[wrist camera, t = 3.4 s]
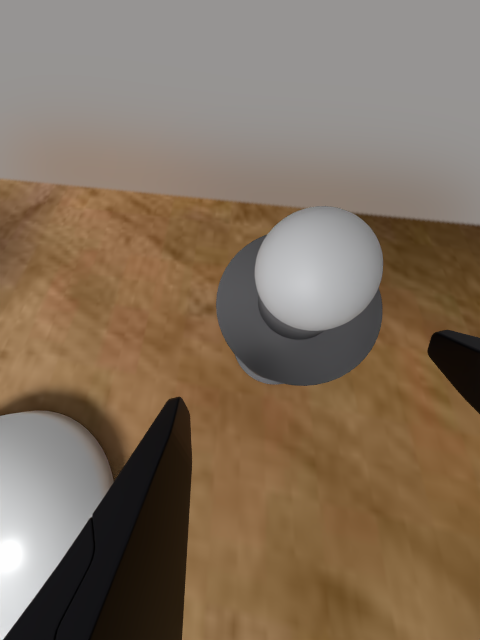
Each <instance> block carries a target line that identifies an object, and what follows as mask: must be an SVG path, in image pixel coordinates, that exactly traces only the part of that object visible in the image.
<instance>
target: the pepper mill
mask: <svg viewBox="0 0 480 640" xmlns="http://www.w3.org/2000/svg"><path fill="white" fill-rule="evenodd" d="M382 273H383V256H382V251H381V247H380V244H379V241H378V239H377V237H376V235H375V234H374V232H373V231H372V229H371V228H370V227H369V226H368V225H367V224H366V223H365V222H364V221H363V220H362V219H361V218H359V217H358V216H356V215H355V214H353V213H351V212H349V211H346V210H343V209H340V208H336V207H328V206H317V207H310V208H306V209H303V210H300V211H297V212H295V213H293V214H291V215H289V216H287V217H286V218H284V219H283V220H282V221H280V222H279V223H278V224H277V225H276V226H274V228H273V229H272V230H271V231H270V232H269V233H268V234H267V235H265V236H262V237H260V238H258V239H256V240H254V241H252V242H251V243H249V244H248V245H247V246H245V247H244V248H243V249H242V250H241V251H239V252H238V253H237V254H236V256H235V257H234V258H233V259H232V260H231V262H230V263H229V264H228V266H227V267H226V269H225V271H224V273H223V275H222V278H221V281H220V283H219V287H218V292H217V301H216V308H217V317H218V322H219V326H220V329H221V331H222V334H223V336H224V338H225V340H226V342H227V344H228V346H229V347H230V348H231V350H232V351H233V353H234V354H235V356H236V359H237V361H238V363H239V365H240V366H241V367H242V369H243V370H244V371H245V372H246V373H247V374H248V375H249V376H251V377H252V378H254V379H256V380H258V381H260V382H263V383H267V384H289V385H301V386H307V385H317V384H321V383H326V382H329V381H332V380H334V379H337V378H339V377H341V376H343V375H345V374H346V373H348V372H350V371H351V370H352V369H354V368H355V367H356V366H357V365H359V364H360V363H361V361H362V360H363V359H364V358H365V357H366V356H367V355H368V353H369V352H370V350H371V349H372V347H373V345H374V343H375V341H376V339H377V337H378V334H379V331H380V327H381V321H382V300H381V294H380V291H379V285H380V282H381V278H382Z"/></svg>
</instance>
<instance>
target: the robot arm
mask: <svg viewBox="0 0 480 640" xmlns="http://www.w3.org/2000/svg"><path fill="white" fill-rule="evenodd" d="M428 355H429V357H430V358H431V360H432V361H433V362H434V363H435V364H436V366H437V367H438V368H439V369H440V370H441V372H442V373H443V374H444V375H445V376H446V378H447V379H448V380H449V381H450V382H451V384H452V385H453V386H454V387H455V388H456V390H457V391H458V392H459V393H460V394H461V395H462V396H463V397H464V399H465V400H466V401H467V402H468V403H469V404H470V405H471V406H472V407H473V408H474V409H475V410H476V411H477V412H478V413H479V414H480V338H478V337H474V336H470V335H466V334H462V333H458V332H455V331H451V330H443V331H439V332H435V333H434V334H433V335H432V337H431V340H430V343H429V347H428ZM191 474H192V448H191V427H190V414H189V411H188V409H187V407H186V405H185V403H184V401H183V399H182V398H181V397H175V398H171V399H169V400H168V401H167V402H166V404H165V405H164V407H163V408H162V410H161V411H160V413H159V415H158V416H157V418H156V419H155V421H154V422H153V424H152V425H151V427H150V428H149V430H148V431H147V433H146V434H145V436H144V437H143V439H142V440H141V442H140V443H139V445H138V446H137V448H136V449H135V451H134V452H133V454H132V455H131V457H130V458H129V460H128V461H127V463H126V464H125V466H124V467H123V469H122V470H121V472H120V473H119V475H118V476H117V478H116V479H115V481H114V482H113V484H112V485H111V487H110V488H109V490H108V491H107V493H106V494H105V496H104V497H103V499H102V500H101V502H100V503H99V505H98V506H97V508H96V509H95V511H94V512H93V514H92V517H91V518H89V520H88V521H87V523H86V524H85V526H84V527H83V529H82V530H81V532H80V533H79V535H78V536H77V538H76V539H75V541H74V542H73V544H72V545H71V547H70V548H69V550H68V551H67V552H66V554H65V555H64V557H63V558H62V560H61V561H60V563H59V564H58V565H57V567H56V568H55V570H54V571H53V572H52V574H51V575H50V576H49V578H48V579H47V581H46V582H45V583H44V585H43V586H42V588H41V589H40V590H39V592H38V593H37V594H36V596H35V597H34V599H33V600H32V601H31V603H30V604H29V605H28V607H27V608H26V609H25V611H24V612H23V613H22V615H21V616H20V617H19V619H18V620H17V621H16V623H15V624H14V625H13V627H12V628H11V629H10V631H9V632H8V633H7V635H6V636H5V637H4V639H3V640H182V628H183V610H184V593H185V576H186V559H187V542H188V525H189V508H190V491H191Z"/></svg>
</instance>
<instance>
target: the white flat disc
mask: <svg viewBox="0 0 480 640" xmlns="http://www.w3.org/2000/svg"><path fill="white" fill-rule="evenodd" d="M113 482H114V480H113V475H112V471H111V468H110V465H109V462H108V459H107V457H106V455H105V453H104V451H103V449H102V447H101V446H100V444H99V443H98V441H97V440H96V438H95V437H94V436H93V435H92V434H91V433H90V432H89V431H88V429H86V428H85V427H84V426H83V425H81V424H80V423H79V422H77V421H75V420H74V419H72V418H70V417H68V416H65V415H63V414H60V413H56V412H51V411H40V410H36V411H26V412H20V413H13V414H7V415H2V416H0V640H3V639H4V637H5V636H6V635H7V633H8V632H9V631H10V629H11V628H12V627H13V625H14V624H15V623H16V621H17V620H18V619H19V617H20V616H21V615H22V613H23V612H24V611H25V609H26V608H27V607H28V605H29V604H30V603H31V601H32V600H33V599H34V597H35V596H36V594H37V593H38V592H39V590H40V589H41V588H42V586H43V585H44V583H45V582H46V581H47V579H48V578H49V576H50V575H51V574H52V572H53V571H54V570H55V568H56V567H57V565H58V564H59V563H60V561H61V560H62V558H63V557H64V555H65V554H66V552H67V551H68V550H69V548H70V547H71V545H72V544H73V542H74V541H75V539H76V538H77V536H78V535H79V533H80V532H81V530H82V529H83V527H84V526H85V524H86V523H87V521H88V520H89V518H91V517H92V514H93V512H94V511H95V509H96V508H97V506H98V505H99V503H100V502H101V500H102V499H103V497H104V496H105V494H106V493H107V491H108V490H109V488H110V487H111V485H112V484H113Z"/></svg>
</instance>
